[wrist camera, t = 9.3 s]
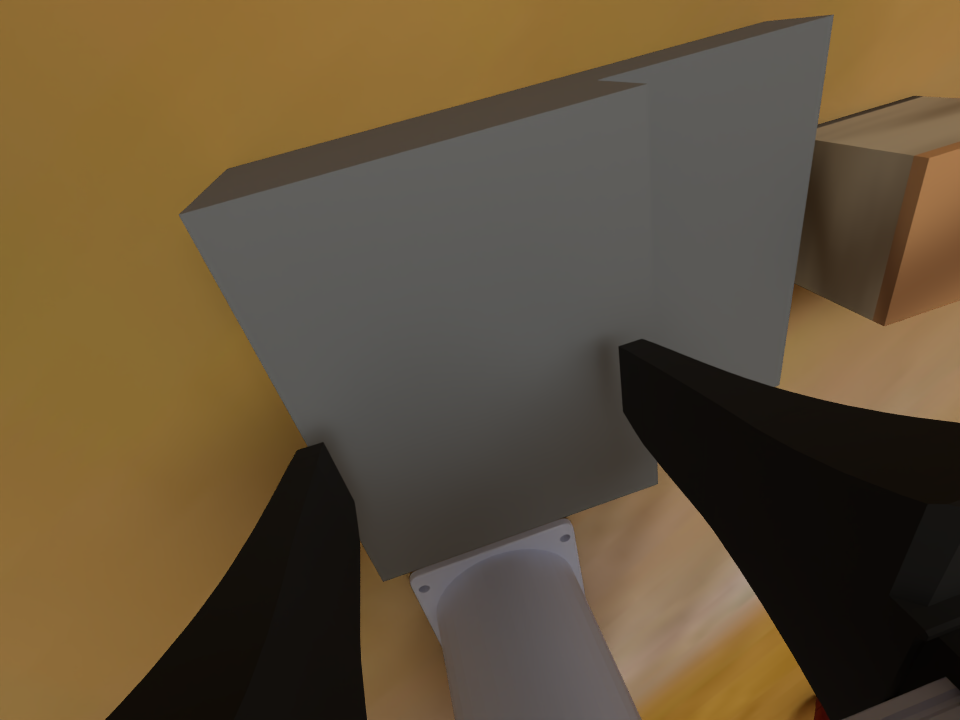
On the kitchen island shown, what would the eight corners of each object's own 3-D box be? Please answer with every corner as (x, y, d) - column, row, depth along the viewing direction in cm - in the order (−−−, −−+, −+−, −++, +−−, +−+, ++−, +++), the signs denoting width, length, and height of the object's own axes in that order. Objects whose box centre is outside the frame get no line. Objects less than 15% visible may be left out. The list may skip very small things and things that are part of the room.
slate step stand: (737, 354, 21) (830, 422, 17) (374, 476, 20) (383, 581, 16) (766, 21, 15) (926, 5, 11) (227, 169, 13) (178, 214, 9)
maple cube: (884, 326, 15) (767, 270, 19) (1023, 278, 16) (879, 233, 20) (929, 158, 13) (781, 134, 17) (1095, 106, 13) (911, 95, 17)
